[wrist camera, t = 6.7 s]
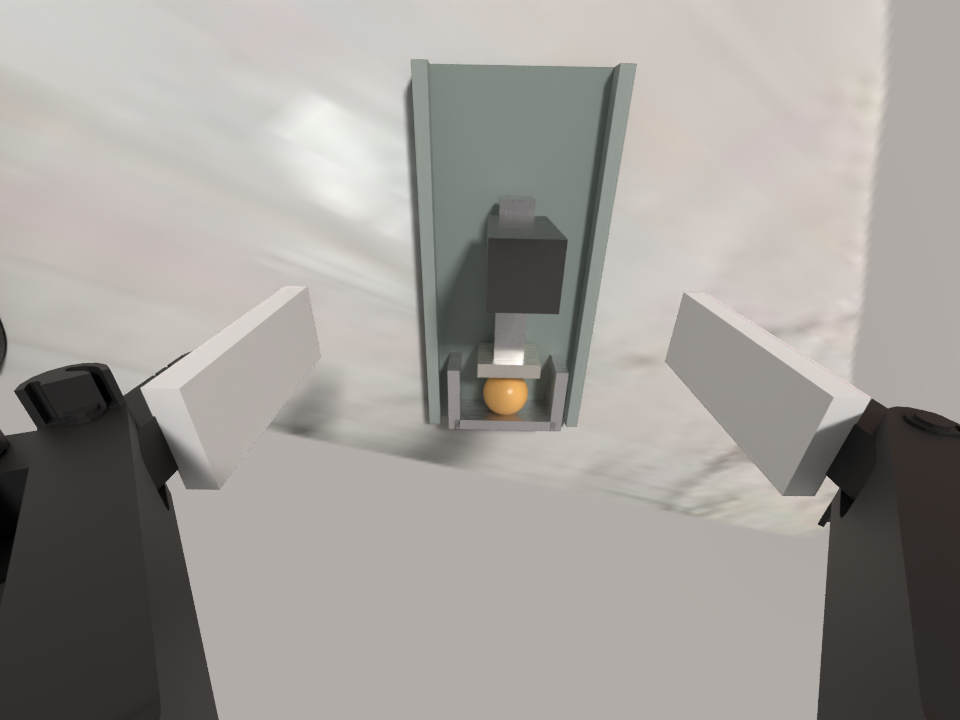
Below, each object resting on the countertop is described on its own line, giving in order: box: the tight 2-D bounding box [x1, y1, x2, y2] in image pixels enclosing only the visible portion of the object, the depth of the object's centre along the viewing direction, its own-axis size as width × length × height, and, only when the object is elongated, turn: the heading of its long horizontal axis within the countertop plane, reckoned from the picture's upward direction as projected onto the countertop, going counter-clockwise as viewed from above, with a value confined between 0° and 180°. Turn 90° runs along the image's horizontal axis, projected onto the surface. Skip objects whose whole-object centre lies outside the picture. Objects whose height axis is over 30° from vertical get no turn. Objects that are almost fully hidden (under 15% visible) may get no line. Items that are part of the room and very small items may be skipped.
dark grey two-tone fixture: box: [477, 196, 568, 379], centre depth 27 cm, size 5×13×11 cm, turn 179°
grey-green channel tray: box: [411, 59, 637, 427], centre depth 32 cm, size 14×28×2 cm, turn 179°
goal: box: [447, 352, 569, 431], centre depth 36 cm, size 10×6×4 cm, turn 89°
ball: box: [483, 378, 528, 415], centre depth 35 cm, size 4×4×4 cm
